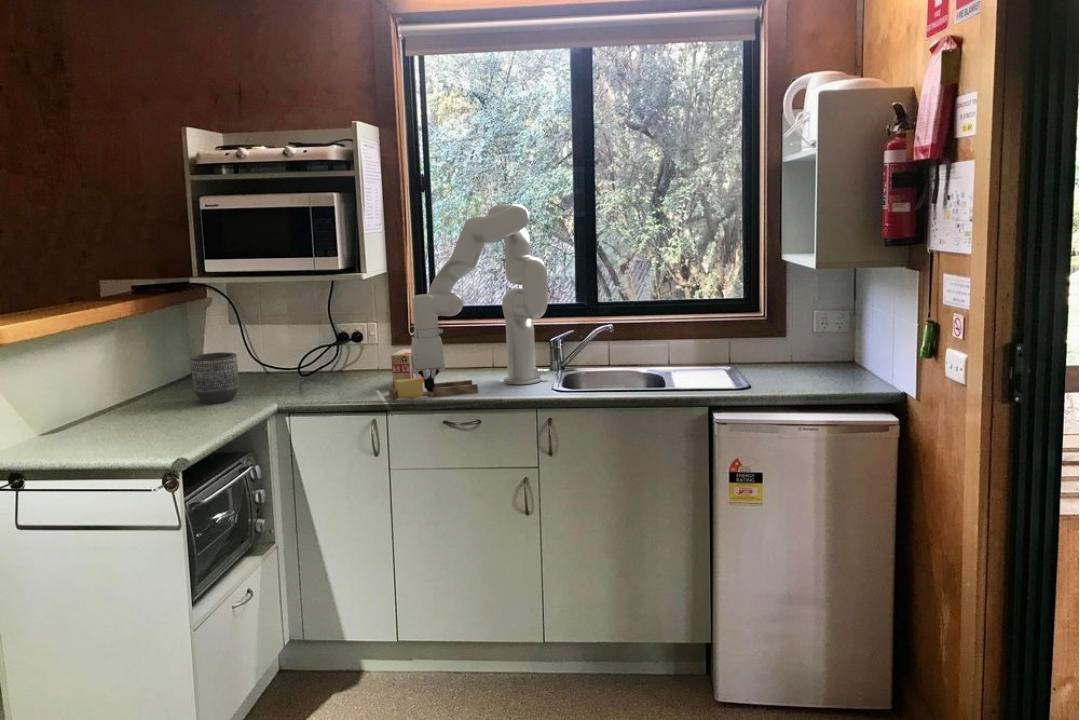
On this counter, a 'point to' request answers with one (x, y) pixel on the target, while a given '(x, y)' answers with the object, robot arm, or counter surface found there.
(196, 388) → the planter
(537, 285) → the robot arm
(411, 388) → the block
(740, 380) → the counter surface
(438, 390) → the chute board
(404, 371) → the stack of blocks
